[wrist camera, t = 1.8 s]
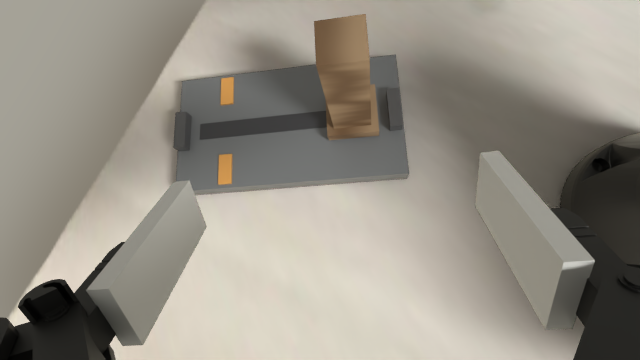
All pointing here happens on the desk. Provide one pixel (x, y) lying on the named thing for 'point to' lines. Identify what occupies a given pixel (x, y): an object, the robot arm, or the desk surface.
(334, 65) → the fader
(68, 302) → the robot arm
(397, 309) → the desk surface
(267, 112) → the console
